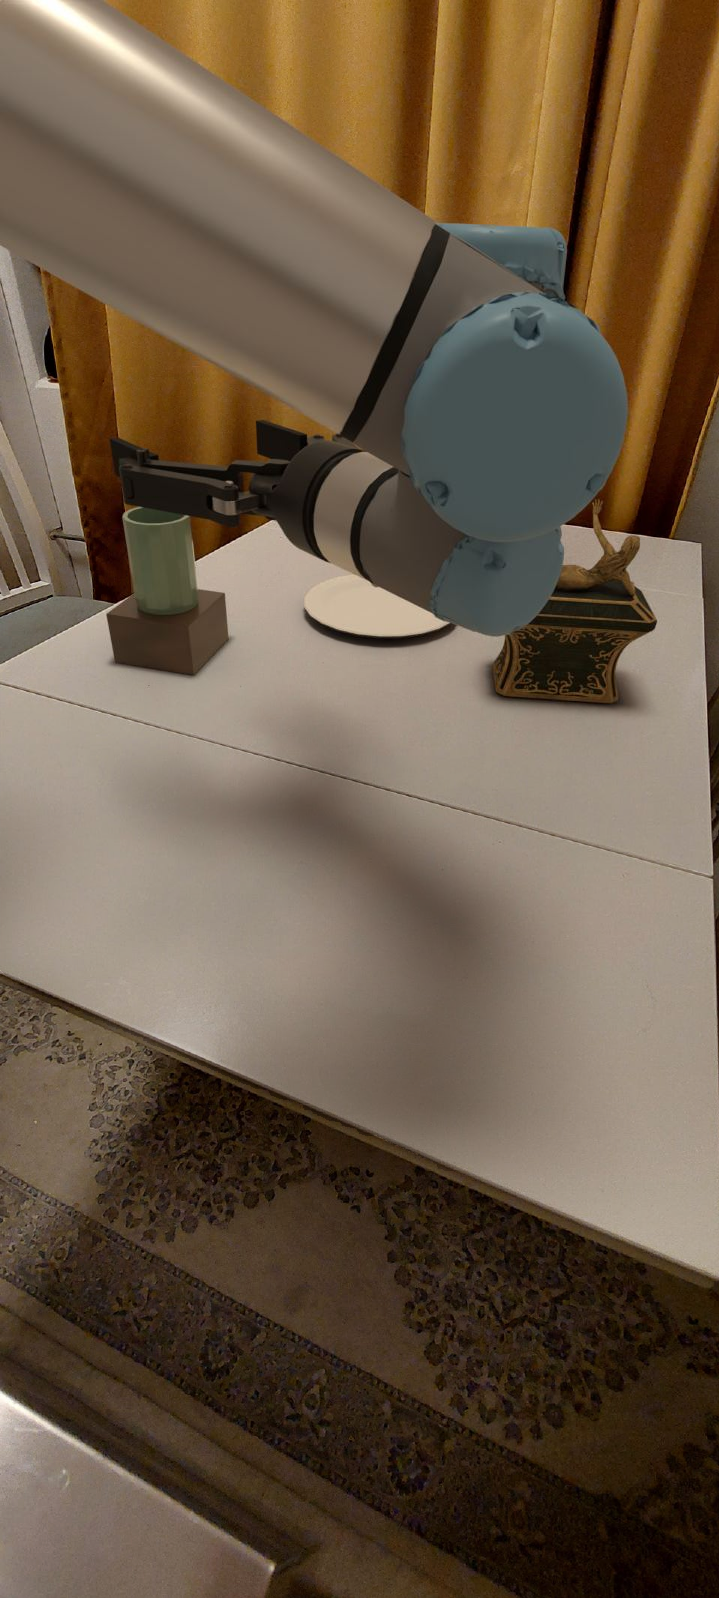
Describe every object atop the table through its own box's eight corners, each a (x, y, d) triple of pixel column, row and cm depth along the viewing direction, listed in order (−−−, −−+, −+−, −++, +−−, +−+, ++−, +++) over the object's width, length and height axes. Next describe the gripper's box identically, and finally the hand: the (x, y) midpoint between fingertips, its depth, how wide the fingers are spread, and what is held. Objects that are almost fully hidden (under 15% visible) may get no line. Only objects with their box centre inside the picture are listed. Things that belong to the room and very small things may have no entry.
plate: (439, 658, 92) (440, 645, 90) (279, 631, 96) (278, 619, 95) (472, 595, 107) (473, 584, 106) (333, 575, 112) (333, 563, 111)
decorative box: (618, 668, 91) (663, 498, 79) (634, 709, 83) (686, 527, 71) (451, 657, 92) (470, 487, 80) (451, 696, 84) (473, 515, 72)
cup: (125, 610, 86) (110, 520, 80) (154, 587, 91) (142, 501, 85) (182, 618, 84) (171, 527, 78) (208, 595, 90) (200, 508, 84)
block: (114, 662, 88) (105, 613, 85) (155, 627, 96) (148, 581, 92) (193, 675, 86) (188, 626, 83) (228, 639, 94) (225, 592, 91)
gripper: (194, 606, 47) (56, 516, 60) (472, 533, 60) (311, 472, 73) (181, 478, 42) (35, 411, 55) (485, 429, 55) (311, 384, 68)
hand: (192, 445), depth 64 cm, fingers open, 13 cm apart
